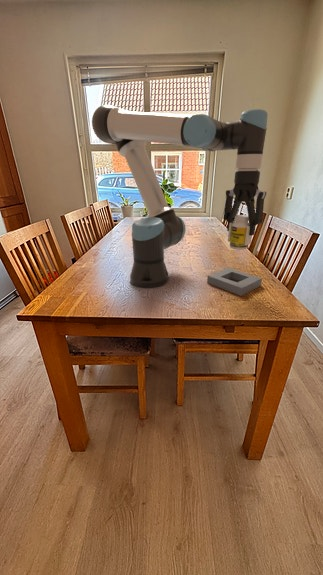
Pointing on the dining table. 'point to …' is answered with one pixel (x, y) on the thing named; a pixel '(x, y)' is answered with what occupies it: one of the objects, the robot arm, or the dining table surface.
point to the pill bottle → (239, 232)
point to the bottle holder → (240, 288)
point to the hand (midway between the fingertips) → (239, 242)
